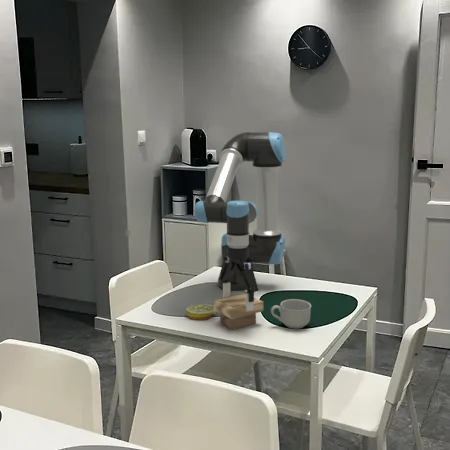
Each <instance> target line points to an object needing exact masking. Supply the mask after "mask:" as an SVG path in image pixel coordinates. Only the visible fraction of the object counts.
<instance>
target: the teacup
mask: <svg viewBox="0 0 450 450" xmlns="http://www.w3.org/2000/svg"><path fill="white" fill-rule="evenodd" d="M276 309H277V310H278V311H279V313H280V316H279V315H277V314H276V313H275V310H276ZM311 311H312V304H311V303H310V302H309V301H306V300H304V299H298V298H297V299H296V298H291V299H290V298H289V299H285V300H283V301H281V302H280V305H277V304H275V305H273V306H272V307H271V308H270V313H271V315H272V316H273V317H274V318H275V319H277V320H278V321H279V322H281V323H283V324H284V325H285V326H286V327H287V328H288V329H293V330H294V329H297V330H299V329H303V328H304V327H305V326H307V325H308V324H309V323H310V320H311V314H312V313H311Z"/></svg>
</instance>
